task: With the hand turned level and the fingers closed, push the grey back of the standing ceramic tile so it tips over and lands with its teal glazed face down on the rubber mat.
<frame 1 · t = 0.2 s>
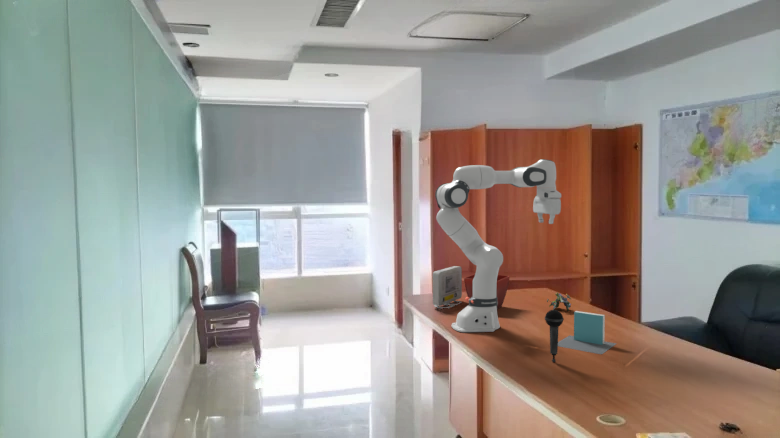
hand: (545, 223, 264), 48 cm above the table, tool pointing down, fingers open, 8 cm apart
microphone: (553, 362, 210), on the table
tile: (589, 341, 234), point 1 cm above the table, touching mat
plant pot: (487, 308, 300), on the table
network device: (448, 305, 308), on the table
passion flower: (559, 310, 292), on the table
mat: (584, 345, 230), on the table
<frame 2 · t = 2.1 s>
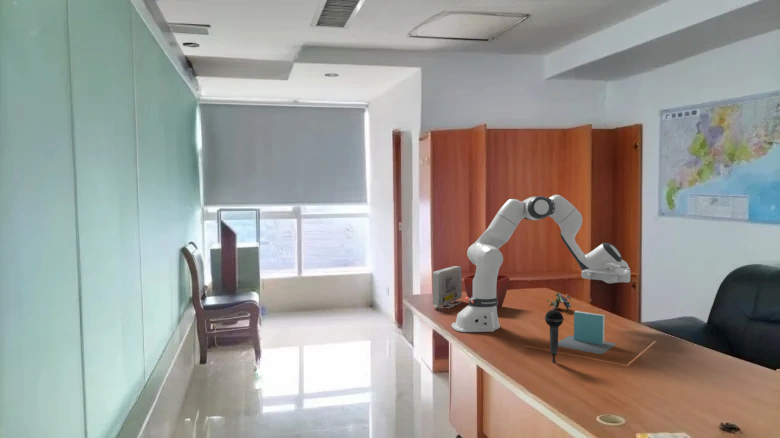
hand: (599, 278, 242), 26 cm above the table, tool horizontal, fingers open, 8 cm apart
nothing on the table moved.
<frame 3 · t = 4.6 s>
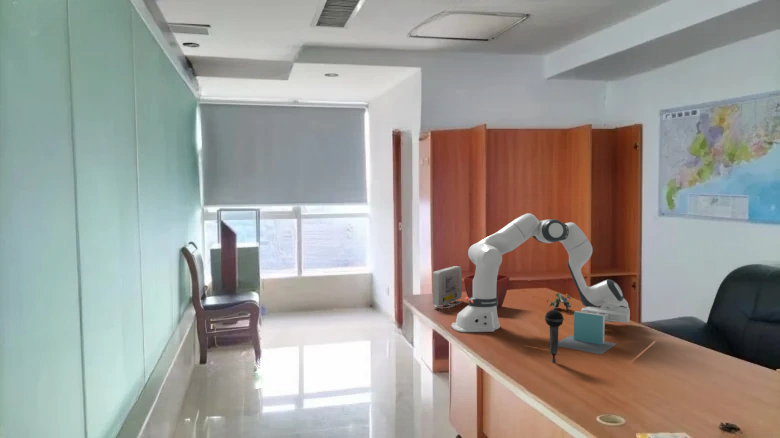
hand: (599, 318, 243), 8 cm above the table, tool horizontal, fingers closed
nothing on the table moved.
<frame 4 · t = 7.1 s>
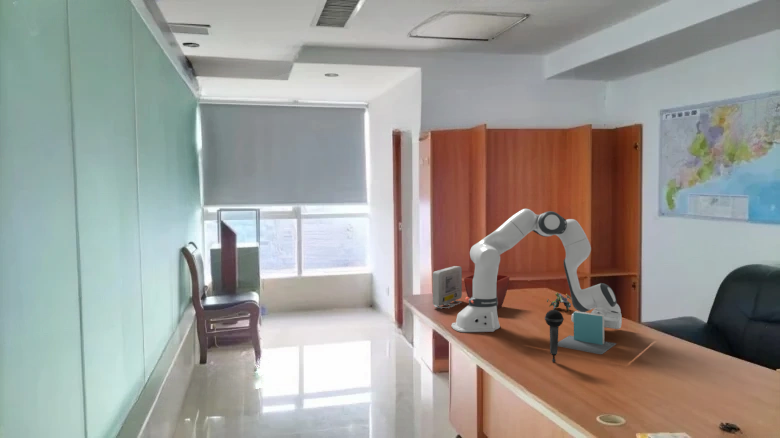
hand: (589, 323, 234), 8 cm above the table, tool horizontal, fingers closed
nothing on the table moved.
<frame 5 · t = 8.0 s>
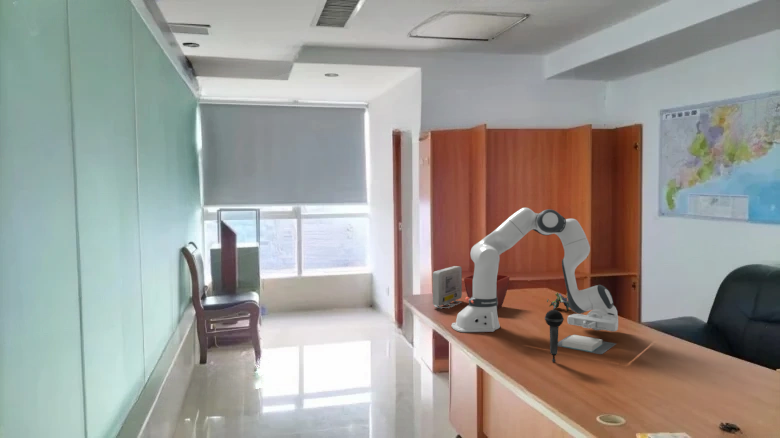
hand: (585, 326, 231), 8 cm above the table, tool horizontal, fingers closed
tile: (587, 339, 233), point 2 cm above the table, tilted 90°, touching mat
everything else where it was.
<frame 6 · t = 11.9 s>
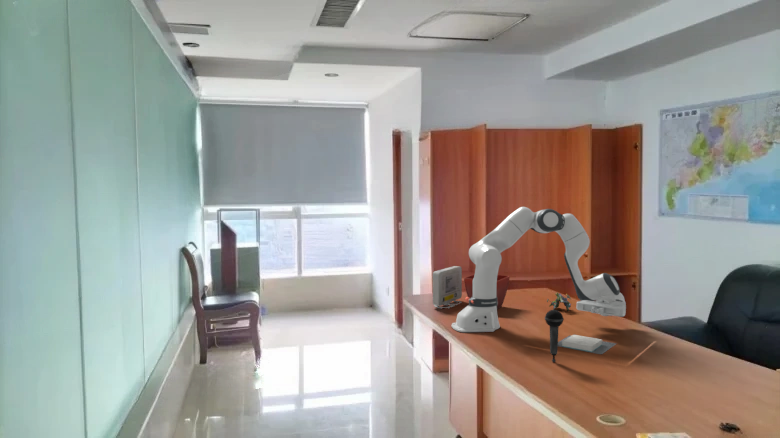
hand: (594, 311, 238), 12 cm above the table, tool horizontal, fingers closed
nothing on the table moved.
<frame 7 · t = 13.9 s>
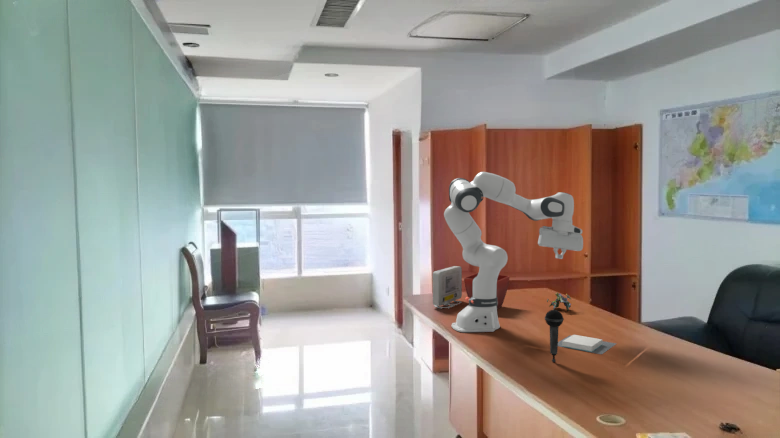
hand: (559, 258, 253), 33 cm above the table, tool pointing down, fingers closed
nothing on the table moved.
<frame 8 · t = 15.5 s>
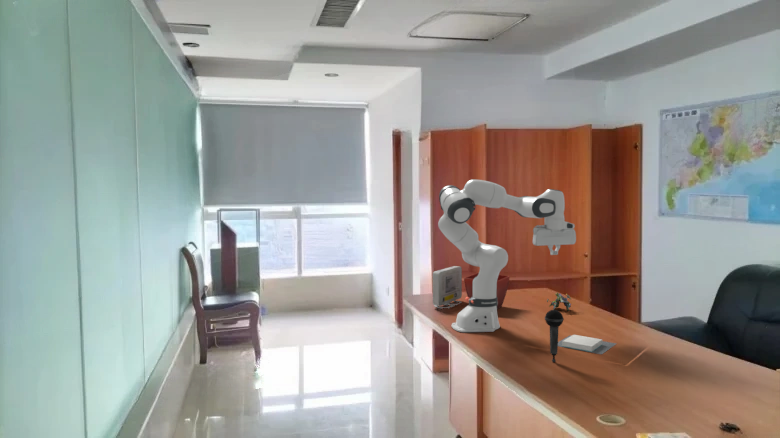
hand: (554, 254, 256), 34 cm above the table, tool pointing down, fingers closed
nothing on the table moved.
at the end: tile tilted 90°; tile inside the target area on the mat (3.5 cm from its centre), point 1.9 cm above the mat's base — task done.
